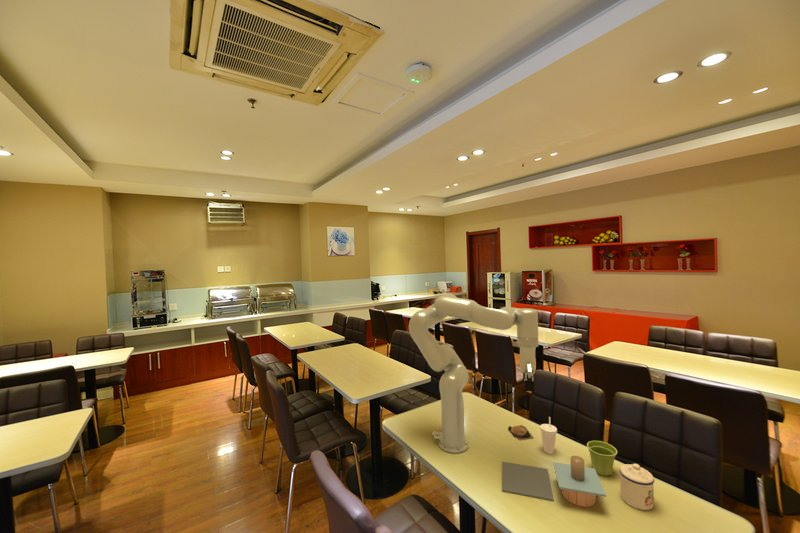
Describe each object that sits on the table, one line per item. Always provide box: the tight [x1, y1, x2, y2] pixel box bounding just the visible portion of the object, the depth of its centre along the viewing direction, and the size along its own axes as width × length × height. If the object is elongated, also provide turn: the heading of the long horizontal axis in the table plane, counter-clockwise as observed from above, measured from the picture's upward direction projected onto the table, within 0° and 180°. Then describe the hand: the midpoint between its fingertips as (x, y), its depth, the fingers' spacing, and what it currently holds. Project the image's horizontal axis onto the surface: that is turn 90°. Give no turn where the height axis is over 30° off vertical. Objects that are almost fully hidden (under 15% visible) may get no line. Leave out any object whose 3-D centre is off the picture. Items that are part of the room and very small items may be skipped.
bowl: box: [560, 489, 597, 508], centre depth 106 cm, size 10×10×6 cm
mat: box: [501, 461, 555, 502], centre depth 114 cm, size 16×16×1 cm
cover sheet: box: [553, 455, 607, 498], centre depth 106 cm, size 13×13×7 cm
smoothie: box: [539, 416, 558, 455], centre depth 131 cm, size 6×6×14 cm
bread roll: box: [507, 424, 535, 441], centre depth 145 cm, size 11×8×4 cm
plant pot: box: [586, 440, 618, 477], centre depth 118 cm, size 9×9×9 cm
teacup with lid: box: [619, 463, 655, 511], centre depth 104 cm, size 12×9×12 cm
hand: (528, 385), depth 122 cm, fingers open, 9 cm apart
